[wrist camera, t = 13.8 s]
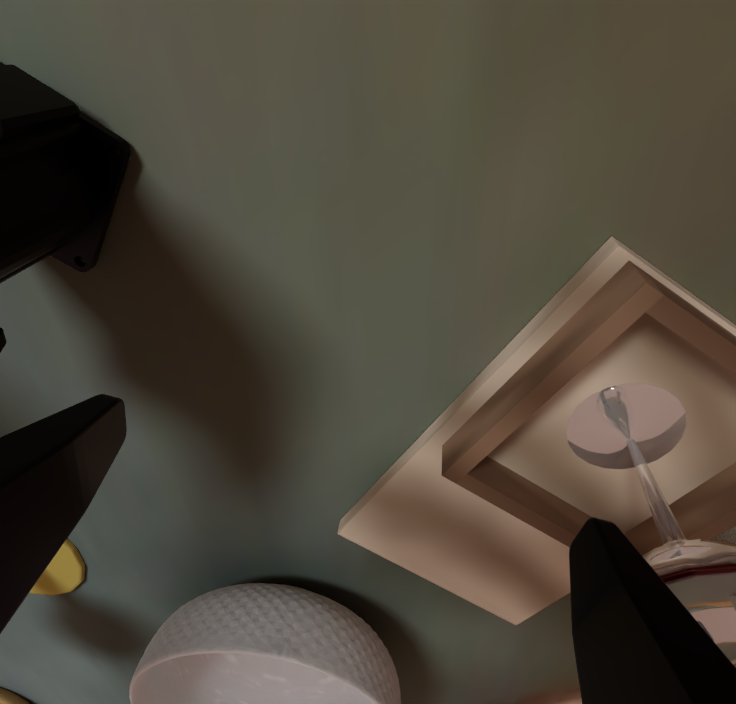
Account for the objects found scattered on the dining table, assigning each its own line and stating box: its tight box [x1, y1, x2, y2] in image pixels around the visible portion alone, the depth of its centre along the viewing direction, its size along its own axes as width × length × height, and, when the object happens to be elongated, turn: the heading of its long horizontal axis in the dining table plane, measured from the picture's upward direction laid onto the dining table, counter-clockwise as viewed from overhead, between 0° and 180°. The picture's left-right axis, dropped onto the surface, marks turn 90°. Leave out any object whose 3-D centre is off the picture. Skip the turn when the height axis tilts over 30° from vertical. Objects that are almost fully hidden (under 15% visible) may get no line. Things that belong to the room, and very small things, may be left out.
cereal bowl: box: [129, 583, 401, 704], centre depth 34 cm, size 17×17×7 cm
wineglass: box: [566, 383, 736, 667], centre depth 18 cm, size 7×7×12 cm
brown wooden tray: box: [337, 236, 736, 625], centre depth 25 cm, size 21×13×3 cm, turn 148°
